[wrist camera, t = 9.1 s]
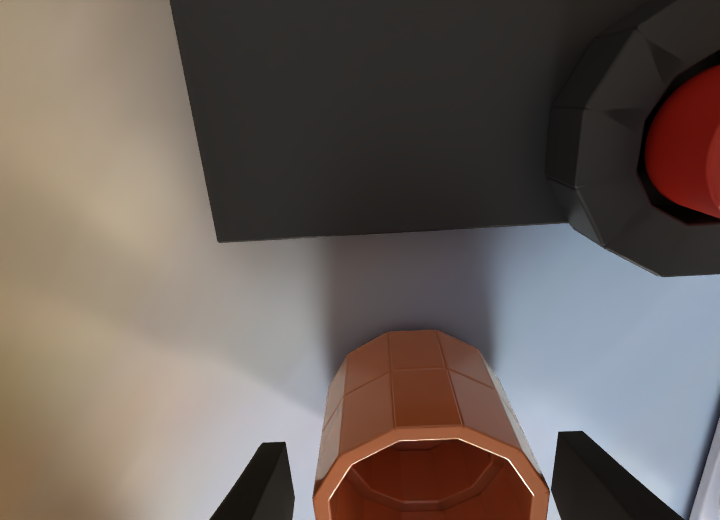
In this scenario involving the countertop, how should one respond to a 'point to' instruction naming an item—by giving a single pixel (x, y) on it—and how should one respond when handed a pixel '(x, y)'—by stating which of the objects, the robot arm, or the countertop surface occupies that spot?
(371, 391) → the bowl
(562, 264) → the countertop surface
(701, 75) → the button
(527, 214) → the scale
